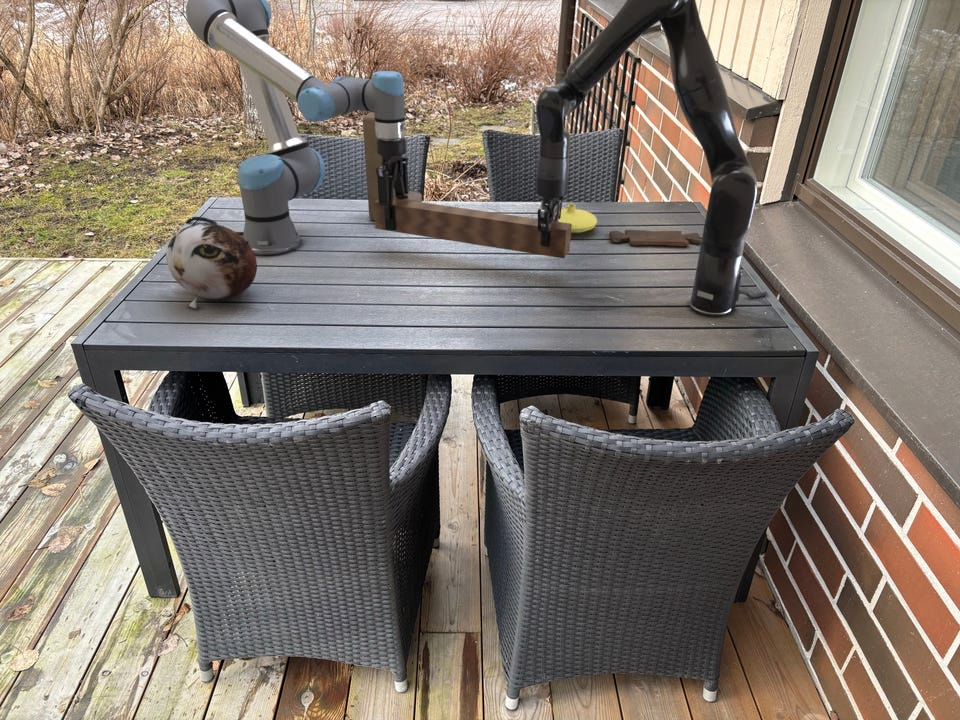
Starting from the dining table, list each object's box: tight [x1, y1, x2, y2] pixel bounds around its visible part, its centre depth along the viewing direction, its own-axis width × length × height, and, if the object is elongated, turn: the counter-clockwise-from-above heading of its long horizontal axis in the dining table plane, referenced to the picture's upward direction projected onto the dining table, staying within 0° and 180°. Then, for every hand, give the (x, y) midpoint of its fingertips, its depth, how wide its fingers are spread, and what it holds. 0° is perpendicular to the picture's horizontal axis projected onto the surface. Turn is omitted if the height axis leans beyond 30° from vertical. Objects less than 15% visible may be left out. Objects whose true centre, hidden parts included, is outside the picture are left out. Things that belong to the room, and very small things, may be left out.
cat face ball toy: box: [165, 222, 258, 309], centre depth 165 cm, size 22×18×20 cm
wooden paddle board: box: [608, 229, 701, 247], centre depth 204 cm, size 26×2×10 cm
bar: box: [374, 198, 572, 259], centre depth 184 cm, size 52×5×7 cm, turn 69°
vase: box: [556, 203, 598, 234], centre depth 209 cm, size 16×16×7 cm
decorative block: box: [362, 111, 423, 221], centre depth 209 cm, size 8×15×30 cm, turn 82°
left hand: (395, 225), depth 192 cm, fingers closed on bar, 5 cm apart
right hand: (548, 241), depth 178 cm, fingers closed on bar, 5 cm apart
